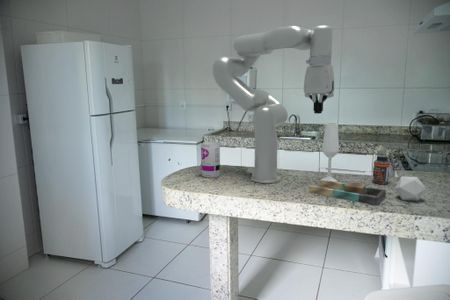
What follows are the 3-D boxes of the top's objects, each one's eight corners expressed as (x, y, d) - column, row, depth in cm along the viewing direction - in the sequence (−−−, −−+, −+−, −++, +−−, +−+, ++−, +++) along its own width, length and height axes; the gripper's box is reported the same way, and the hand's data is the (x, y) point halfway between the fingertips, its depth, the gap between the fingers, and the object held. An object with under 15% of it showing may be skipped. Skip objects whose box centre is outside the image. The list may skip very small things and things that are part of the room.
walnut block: (343, 196, 118) (344, 185, 117) (347, 192, 123) (348, 181, 122) (361, 199, 115) (362, 188, 114) (364, 194, 120) (365, 184, 119)
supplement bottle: (370, 183, 134) (372, 156, 132) (373, 180, 139) (375, 153, 137) (386, 185, 130) (388, 157, 128) (389, 182, 135) (391, 155, 133)
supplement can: (206, 179, 141) (206, 144, 139) (198, 175, 148) (198, 142, 146) (223, 176, 145) (222, 143, 143) (214, 172, 152) (214, 140, 150)
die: (419, 207, 108) (434, 182, 109) (395, 192, 110) (410, 168, 111) (409, 207, 116) (423, 184, 117) (387, 193, 118) (401, 171, 119)
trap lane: (308, 192, 122) (308, 185, 122) (320, 185, 131) (320, 179, 131) (377, 205, 108) (377, 198, 107) (385, 196, 117) (386, 190, 116)
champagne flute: (319, 181, 136) (322, 124, 132) (321, 177, 143) (323, 122, 138) (336, 183, 134) (340, 124, 130) (337, 179, 140) (340, 123, 136)
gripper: (296, 62, 120) (294, 113, 123) (337, 60, 111) (334, 114, 114) (305, 64, 126) (303, 112, 129) (344, 61, 117) (341, 113, 120)
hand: (317, 113), depth 122 cm, fingers closed
